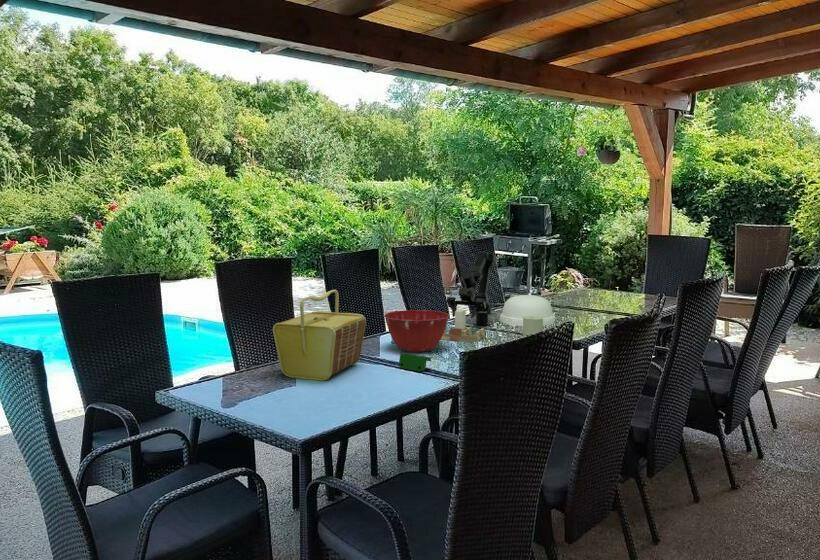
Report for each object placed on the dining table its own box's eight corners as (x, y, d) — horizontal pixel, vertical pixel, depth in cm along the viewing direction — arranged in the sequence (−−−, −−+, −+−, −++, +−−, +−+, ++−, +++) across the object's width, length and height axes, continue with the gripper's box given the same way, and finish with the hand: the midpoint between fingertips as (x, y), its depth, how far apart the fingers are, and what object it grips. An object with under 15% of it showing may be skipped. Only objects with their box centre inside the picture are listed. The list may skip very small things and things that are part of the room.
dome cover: (521, 314, 362) (522, 290, 360) (567, 321, 341) (567, 295, 339) (487, 321, 340) (487, 296, 338) (533, 329, 318) (534, 302, 317)
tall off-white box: (458, 336, 300) (458, 309, 298) (465, 337, 298) (465, 310, 297) (454, 338, 295) (455, 311, 294) (462, 339, 294) (462, 311, 292)
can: (520, 343, 285) (520, 317, 284) (524, 339, 294) (525, 314, 292) (540, 345, 282) (541, 318, 280) (544, 340, 290) (545, 315, 289)
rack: (444, 334, 306) (444, 322, 306) (484, 337, 298) (484, 325, 298) (435, 339, 294) (435, 327, 294) (476, 343, 287) (476, 330, 286)
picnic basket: (334, 384, 222) (332, 300, 219) (271, 377, 231) (269, 297, 228) (368, 364, 249) (367, 289, 246) (311, 359, 258) (309, 287, 255)
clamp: (425, 380, 242) (435, 360, 241) (416, 380, 237) (427, 359, 236) (404, 364, 249) (414, 344, 247) (395, 363, 244) (405, 343, 243)
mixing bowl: (392, 340, 293) (392, 308, 291) (453, 343, 287) (453, 309, 285) (377, 355, 265) (376, 319, 263) (444, 357, 259) (444, 321, 257)
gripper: (447, 280, 305) (439, 306, 296) (484, 282, 298) (477, 308, 289) (452, 294, 313) (445, 319, 304) (489, 296, 306) (482, 322, 297)
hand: (462, 317), depth 298 cm, fingers open, 9 cm apart
